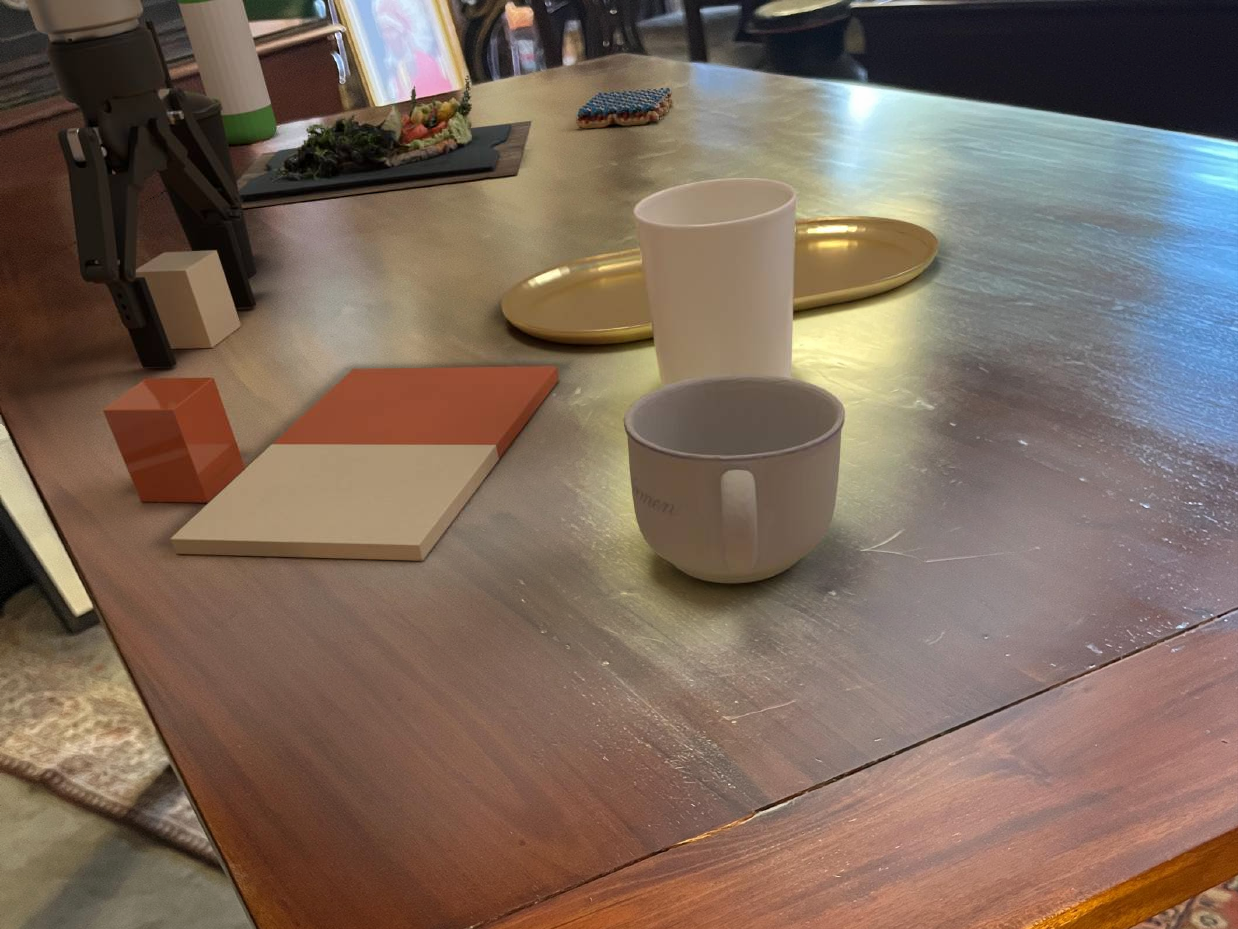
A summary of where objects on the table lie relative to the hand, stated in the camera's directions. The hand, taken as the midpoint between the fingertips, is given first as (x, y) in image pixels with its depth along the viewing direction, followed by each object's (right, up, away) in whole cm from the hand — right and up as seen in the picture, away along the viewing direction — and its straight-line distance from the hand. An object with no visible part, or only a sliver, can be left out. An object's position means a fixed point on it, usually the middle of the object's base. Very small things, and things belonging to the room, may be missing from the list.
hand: (202, 335), depth 101 cm
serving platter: (+43, +1, -5) cm, 44 cm away
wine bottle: (-16, +53, +60) cm, 82 cm away
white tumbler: (+43, -14, -21) cm, 50 cm away
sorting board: (+20, -18, -22) cm, 35 cm away
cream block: (0, 0, 0) cm, 0 cm away
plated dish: (+6, +38, +41) cm, 57 cm away
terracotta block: (+8, -20, -22) cm, 31 cm away
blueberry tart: (+35, +47, +46) cm, 74 cm away
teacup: (+42, -29, -38) cm, 64 cm away
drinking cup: (-2, +11, +13) cm, 17 cm away
